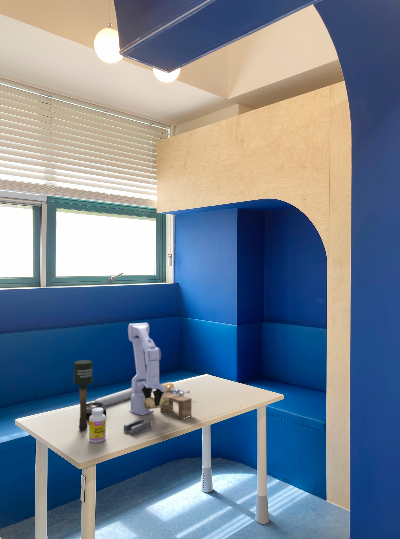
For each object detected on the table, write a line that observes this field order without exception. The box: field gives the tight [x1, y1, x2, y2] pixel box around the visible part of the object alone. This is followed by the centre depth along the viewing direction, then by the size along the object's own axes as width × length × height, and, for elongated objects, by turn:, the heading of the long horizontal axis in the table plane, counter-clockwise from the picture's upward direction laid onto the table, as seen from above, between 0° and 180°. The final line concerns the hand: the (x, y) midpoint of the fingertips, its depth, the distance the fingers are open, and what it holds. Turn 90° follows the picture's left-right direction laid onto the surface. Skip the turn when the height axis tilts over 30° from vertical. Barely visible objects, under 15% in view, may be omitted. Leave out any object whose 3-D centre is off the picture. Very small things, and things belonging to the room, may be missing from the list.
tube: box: [94, 387, 133, 408], centre depth 222 cm, size 5×5×25 cm
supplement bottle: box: [88, 408, 107, 444], centre depth 175 cm, size 7×7×13 cm
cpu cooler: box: [86, 401, 107, 422], centre depth 202 cm, size 10×6×10 cm
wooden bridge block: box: [159, 393, 192, 420], centre depth 205 cm, size 15×6×8 cm, turn 51°
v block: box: [123, 417, 152, 436], centre depth 186 cm, size 6×11×3 cm, turn 141°
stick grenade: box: [72, 359, 94, 432], centre depth 186 cm, size 8×9×30 cm
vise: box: [160, 381, 191, 397], centre depth 231 cm, size 18×10×7 cm, turn 40°
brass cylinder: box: [144, 396, 170, 410], centre depth 195 cm, size 5×12×5 cm, turn 143°
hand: (152, 404), depth 193 cm, fingers closed on brass cylinder, 5 cm apart
